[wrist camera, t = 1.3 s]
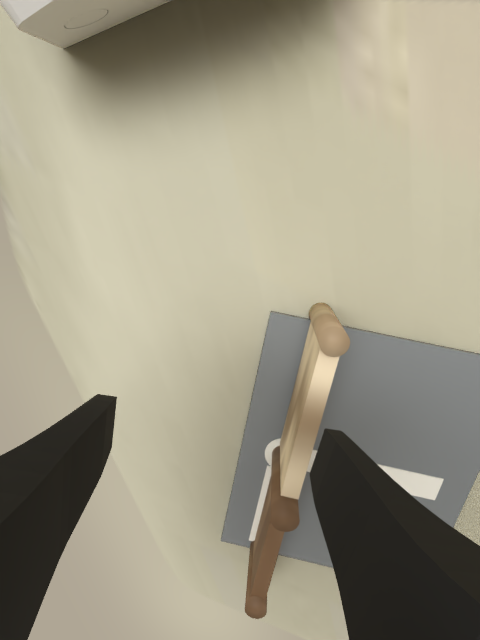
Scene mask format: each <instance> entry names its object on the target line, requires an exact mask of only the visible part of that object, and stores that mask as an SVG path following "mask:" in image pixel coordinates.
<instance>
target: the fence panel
mask: <svg viewBox="0 0 480 640" xmlns="http://www.w3.org/2000/svg"><path fill="white" fill-rule="evenodd" d="M309 317H310V320H311V322H310V326H309V330H308V334H307V338H306V342H305V346H304V350H303V354H302V358H301V362H300V366H299V370H298V373H297V377H296V381H295V385H294V389H293V393H292V397H291V401H290V405H289V409H288V413H287V417H286V421H285V425H284V428H283V432H282V436H281V440H280V487H281V496H285V497H290V498H294V499H299V496H300V492H301V489H302V485H303V482H304V478H305V475H306V471H307V468H308V465H309V461H310V458H311V454H312V451H313V447H314V444H315V440H316V437H317V433H318V430H319V426H320V423H321V419H322V416H323V412H324V409H325V406H326V402H327V399H328V395H329V392H330V388H331V385H332V381H333V378H334V374H335V371H336V367H337V364H338V360H339V357H340V356H341V355H343V354H345V353H346V352H347V350H348V349H349V346H350V339H349V336H348V335H347V333H346V331H345V330H344V328H343V327H342V325H341V324H340V322H339V320H338V319H337V317H336V316H335V314H334V313H333V311H332V309H331V308H330V307H329V306H328V305H327V304H325V303H317V304H315V305H313V306H312V307H311V309H310V311H309Z"/></svg>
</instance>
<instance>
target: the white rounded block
mask: <svg viewBox="0 0 480 640" xmlns="http://www.w3.org/2000/svg"><path fill="white" fill-rule="evenodd" d="M169 1H172V0H0V4H1V6H2V7H3V8H4V10H5V11H6V12H7V14H8V15H9V16H10V18H11V19H12V21H13V22H14V23H15V25H16V26H17V27H18V29H19V30H21V31H23V32H25V33H28V34H30V35H33V36H35V37H37V38H40V39H42V40H44V41H47V42H49V43H51V44H54V45H56V46H58V47H61V48H63V49H64V48H67V47H69V46H71V45H73V44H76V43H78V42H80V41H82V40H84V39H87V38H89V37H91V36H93V35H96V34H98V33H100V32H102V31H105V30H107V29H109V28H111V27H113V26H116V25H118V24H120V23H122V22H125V21H127V20H129V19H131V18H134V17H136V16H138V15H140V14H143V13H145V12H147V11H149V10H151V9H154V8H156V7H158V6H160V5H163V4H165V3H167V2H169Z"/></svg>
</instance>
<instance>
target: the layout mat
mask: <svg viewBox="0 0 480 640" xmlns="http://www.w3.org/2000/svg"><path fill="white" fill-rule="evenodd" d="M310 322H311V320H310V319H307V318H302V317H297V316H293V315H288V314H283V313H278V312H273V311H271V312H270V317H269V322H268V326H267V331H266V335H265V340H264V344H263V349H262V354H261V358H260V363H259V367H258V372H257V377H256V381H255V386H254V390H253V395H252V400H251V404H250V409H249V413H248V418H247V423H246V427H245V432H244V436H243V441H242V446H241V450H240V455H239V459H238V464H237V468H236V473H235V478H234V482H233V487H232V491H231V496H230V501H229V505H228V510H227V514H226V519H225V524H224V528H223V533H222V537H221V541H223V542H227V543H231V544H236V545H240V546H244V547H248V548H250V544H251V542H252V541H255V537H256V533H257V529H258V525H259V521H260V517H261V513H262V509H263V505H264V501H265V497H266V494H267V490H268V486H269V482H270V478H271V468H272V451H273V449H274V448H275V447H277V446H280V440H281V436H282V432H283V428H284V425H285V421H286V417H287V413H288V409H289V405H290V401H291V397H292V393H293V389H294V385H295V381H296V377H297V373H298V370H299V366H300V362H301V358H302V354H303V350H304V346H305V342H306V338H307V334H308V330H309V326H310ZM342 327H343V328H344V330H345V331H346V333H347V335H348V336H349V339H350V346H349V349H348V350H347V352H346V353H345V354H343V355H341V356H340V357H339V360H338V364H337V367H336V371H335V374H334V378H333V381H332V385H331V388H330V392H329V395H328V399H327V402H326V406H325V409H324V412H323V416H322V419H321V423H320V426H319V430H318V433H317V437H316V440H315V444H314V447H313V451H312V454H311V458H310V461H309V465H308V468H307V471H306V475H305V478H304V482H303V485H302V489H301V492H300V496H299V499H298V506H299V519H300V522H299V525H298V527H297V528H296V529H295V530H293V531H290V532H284V535H283V539H282V542H281V546H280V549H279V553H278V555H282V556H286V557H290V558H294V559H298V560H303V561H307V562H311V563H315V564H319V565H324V566H328V567H332V568H333V565H332V561H331V558H330V555H329V551H328V548H327V545H326V542H325V538H324V535H323V532H322V528H321V525H320V522H319V518H318V515H317V511H316V508H315V504H314V499H313V494H312V488H311V481H310V471H311V468H312V465H313V462H314V459H315V456H316V453H317V450H318V447H319V444H320V441H321V438H322V435H323V432H324V429H325V428H326V429H333V430H340V431H342V432H344V433H345V434H346V435H347V436H348V437H349V438H350V439H351V440H352V441H353V442H355V443H356V444H357V445H358V446H359V447H360V448H361V449H362V450H363V451H364V452H365V453H366V454H367V455H368V456H369V457H370V458H371V459H372V460H373V461H374V462H375V463H376V464H377V465H378V466H379V467H380V468H381V469H383V470H384V471H385V472H386V473H387V474H388V475H389V476H390V477H391V478H392V479H393V480H394V481H395V482H397V483H398V484H399V485H400V486H401V487H402V488H403V489H405V490H406V491H407V492H408V493H409V494H410V495H411V496H413V497H414V498H415V499H416V500H417V501H419V502H420V503H421V504H422V505H424V506H425V507H426V508H427V509H429V510H430V511H431V512H433V513H434V514H435V515H436V516H438V517H439V518H440V519H442V520H443V521H444V522H446V523H447V524H448V525H450V526H451V527H454V525H455V523H456V520H457V518H458V516H459V514H460V512H461V510H462V507H463V505H464V503H465V501H466V499H467V497H468V494H469V492H470V490H471V488H472V486H473V484H474V481H475V479H476V477H477V475H478V473H479V470H480V354H478V353H473V352H468V351H463V350H458V349H453V348H449V347H444V346H439V345H434V344H429V343H424V342H419V341H414V340H410V339H405V338H400V337H395V336H390V335H385V334H380V333H375V332H371V331H366V330H361V329H356V328H351V327H346V326H342Z"/></svg>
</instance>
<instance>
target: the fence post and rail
mask: <svg viewBox="0 0 480 640" xmlns="http://www.w3.org/2000/svg"><path fill="white" fill-rule="evenodd" d="M299 522H300V519H299V506H298V499H294V498H290V497H285V496H281V487H280V446H277V447H275V448H274V449H273V451H272V468H271V478H270V482H269V486H268V490H267V494H266V497H265V501H264V505H263V509H262V513H261V517H260V521H259V525H258V529H257V533H256V537H255V541H252V542H251V544H250V554H249V566H248V579H247V591H246V603H245V612H246V614H247V615H248V616H250V617H252V618H256V619H259V618H262V617H264V616H265V615H266V612H267V592H268V588H269V585H270V581H271V578H272V574H273V571H274V567H275V564H276V560H277V557H278V553H279V549H280V546H281V542H282V539H283V535H284V532H290V531H293V530H295V529H296V528H297V527H298V525H299Z"/></svg>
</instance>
